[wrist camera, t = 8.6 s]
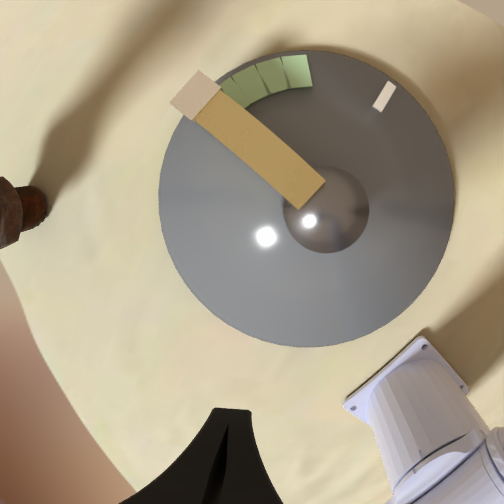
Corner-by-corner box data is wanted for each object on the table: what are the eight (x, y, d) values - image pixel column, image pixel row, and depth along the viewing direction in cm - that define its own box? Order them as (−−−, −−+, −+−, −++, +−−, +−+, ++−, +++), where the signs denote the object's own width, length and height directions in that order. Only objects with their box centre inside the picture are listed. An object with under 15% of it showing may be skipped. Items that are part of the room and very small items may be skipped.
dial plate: (486, 202, 17) (496, 204, 16) (313, 382, 21) (315, 393, 20) (298, 7, 15) (299, -1, 14) (112, 215, 19) (103, 218, 18)
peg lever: (367, 202, 17) (388, 210, 13) (319, 254, 17) (329, 273, 14) (224, 75, 15) (213, 55, 12) (176, 129, 16) (155, 119, 13)
